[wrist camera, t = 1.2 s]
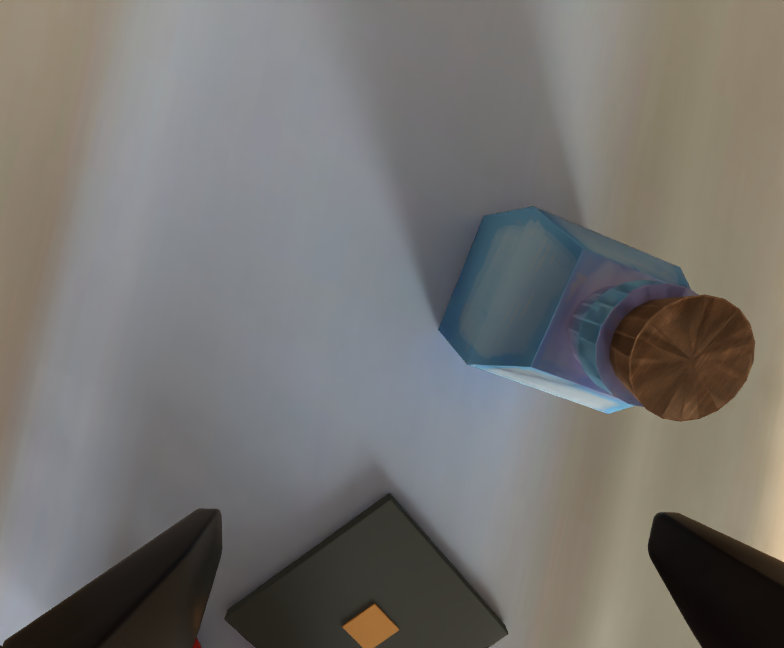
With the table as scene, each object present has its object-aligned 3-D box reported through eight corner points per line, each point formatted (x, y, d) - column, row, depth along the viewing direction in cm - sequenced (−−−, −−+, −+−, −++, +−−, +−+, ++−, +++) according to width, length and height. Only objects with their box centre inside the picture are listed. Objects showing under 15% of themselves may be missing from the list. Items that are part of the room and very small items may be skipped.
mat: (505, 625, 26) (509, 635, 25) (354, 728, 27) (353, 741, 26) (389, 492, 24) (390, 500, 23) (226, 610, 24) (223, 620, 24)
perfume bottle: (484, 215, 21) (639, 185, 9) (591, 259, 22) (861, 284, 10) (438, 329, 22) (525, 434, 10) (542, 367, 23) (735, 504, 11)
